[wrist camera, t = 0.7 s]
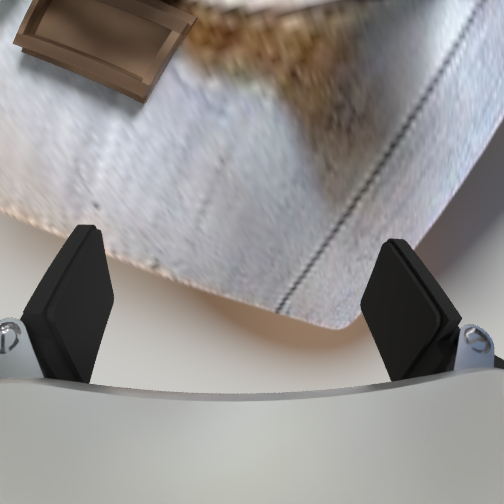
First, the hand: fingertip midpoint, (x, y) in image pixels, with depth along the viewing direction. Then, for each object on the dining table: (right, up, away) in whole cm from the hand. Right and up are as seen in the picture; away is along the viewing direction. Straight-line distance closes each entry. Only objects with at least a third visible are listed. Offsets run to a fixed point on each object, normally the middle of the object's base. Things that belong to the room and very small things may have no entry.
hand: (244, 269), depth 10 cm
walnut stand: (-18, +27, +17) cm, 36 cm away
